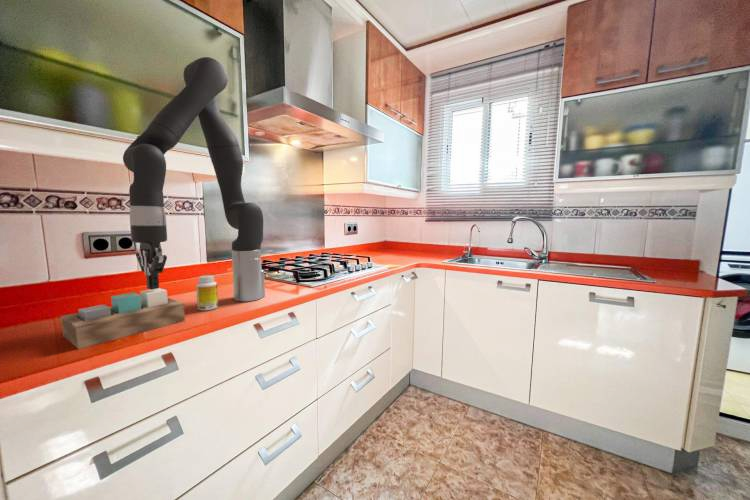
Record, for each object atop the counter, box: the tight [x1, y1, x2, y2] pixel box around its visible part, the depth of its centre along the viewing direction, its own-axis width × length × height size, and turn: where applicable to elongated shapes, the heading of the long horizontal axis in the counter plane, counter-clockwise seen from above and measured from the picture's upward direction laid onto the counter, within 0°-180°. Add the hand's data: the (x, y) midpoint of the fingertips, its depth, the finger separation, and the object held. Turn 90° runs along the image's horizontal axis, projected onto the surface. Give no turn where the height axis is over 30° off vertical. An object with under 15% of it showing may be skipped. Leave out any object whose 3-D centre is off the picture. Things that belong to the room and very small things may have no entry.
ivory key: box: [139, 287, 169, 308], centre depth 79 cm, size 4×4×4 cm
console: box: [60, 297, 186, 350], centre depth 75 cm, size 21×12×5 cm, turn 147°
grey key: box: [78, 304, 111, 321], centre depth 69 cm, size 4×4×4 cm
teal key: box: [110, 292, 141, 314], centre depth 74 cm, size 4×4×4 cm
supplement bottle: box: [195, 274, 219, 312], centre depth 91 cm, size 6×6×10 cm
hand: (153, 288), depth 79 cm, fingers closed
